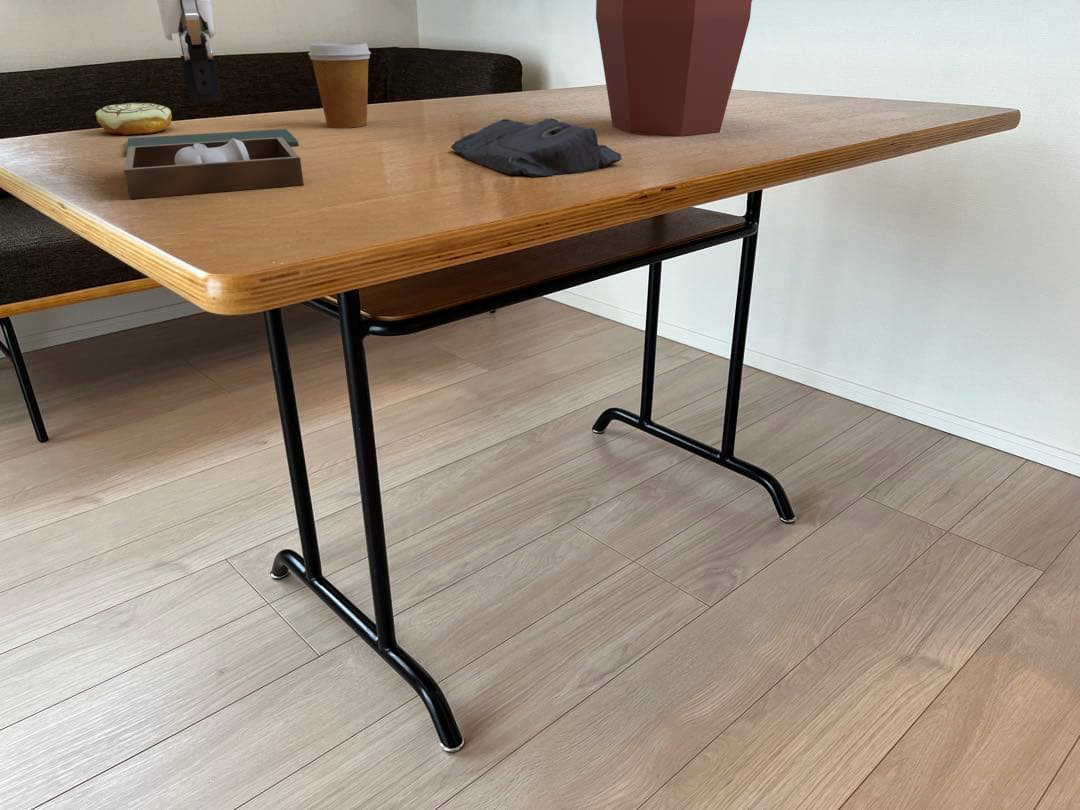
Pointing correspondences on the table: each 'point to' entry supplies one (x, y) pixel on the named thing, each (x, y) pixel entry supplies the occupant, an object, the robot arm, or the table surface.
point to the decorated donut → (134, 118)
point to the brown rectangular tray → (210, 169)
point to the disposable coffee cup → (342, 81)
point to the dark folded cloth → (536, 148)
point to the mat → (212, 138)
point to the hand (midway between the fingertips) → (204, 96)
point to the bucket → (670, 62)
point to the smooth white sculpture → (212, 153)
